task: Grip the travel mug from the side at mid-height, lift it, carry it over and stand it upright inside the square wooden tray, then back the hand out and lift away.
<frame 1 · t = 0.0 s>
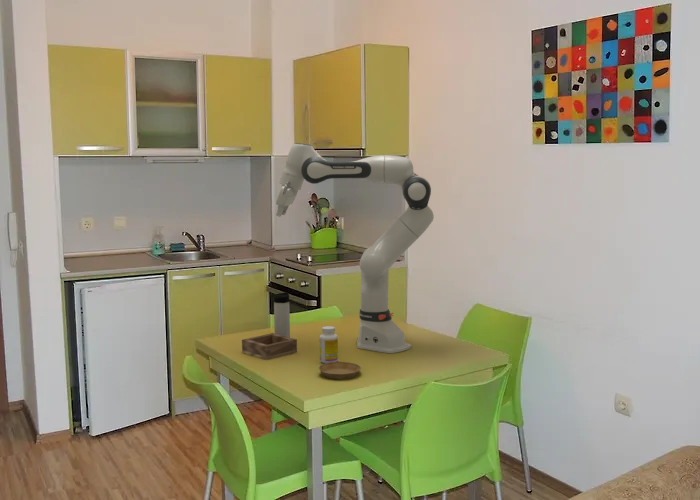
hand: (280, 215, 286), 52 cm above the table, tool tilted 20°, fingers open, 8 cm apart
travel mug: (282, 342, 295), on the table
supplement bottle: (328, 362, 265), on the table
plant saucer: (339, 375, 250), on the table
square wooden tray: (269, 352, 278), on the table
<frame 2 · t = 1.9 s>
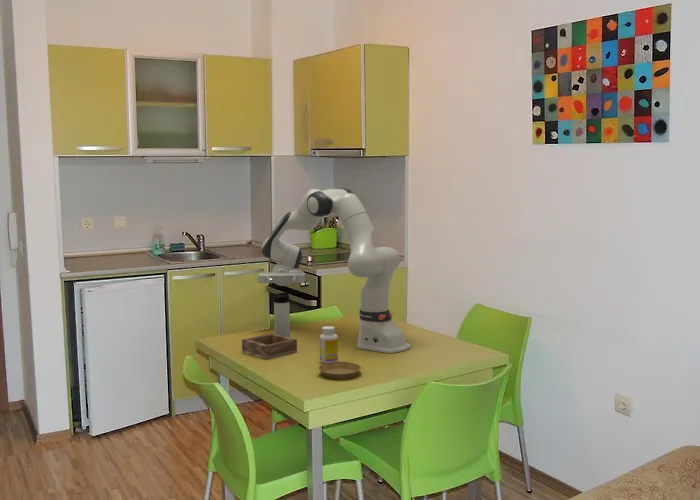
hand: (281, 280, 304), 23 cm above the table, tool horizontal, fingers open, 8 cm apart
nothing on the table moved.
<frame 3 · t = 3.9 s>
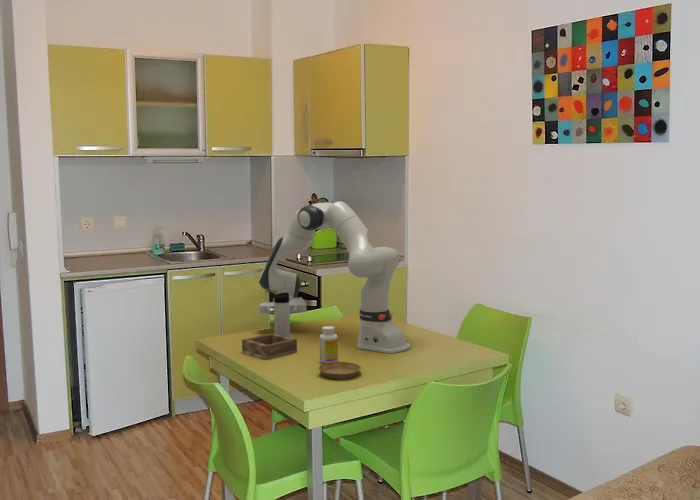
hand: (282, 311, 302), 11 cm above the table, tool horizontal, fingers open, 8 cm apart
nothing on the table moved.
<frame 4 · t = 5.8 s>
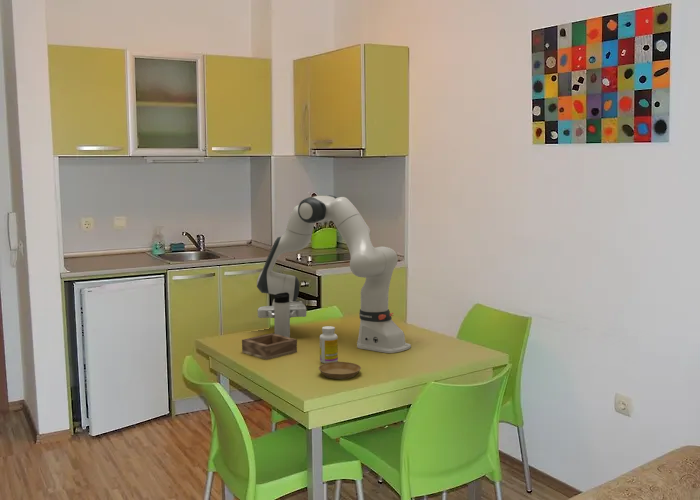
hand: (282, 315, 292), 11 cm above the table, tool horizontal, fingers closed on travel mug, 6 cm apart
travel mug: (282, 342, 295), on the table, touching gripper
everything else where it was.
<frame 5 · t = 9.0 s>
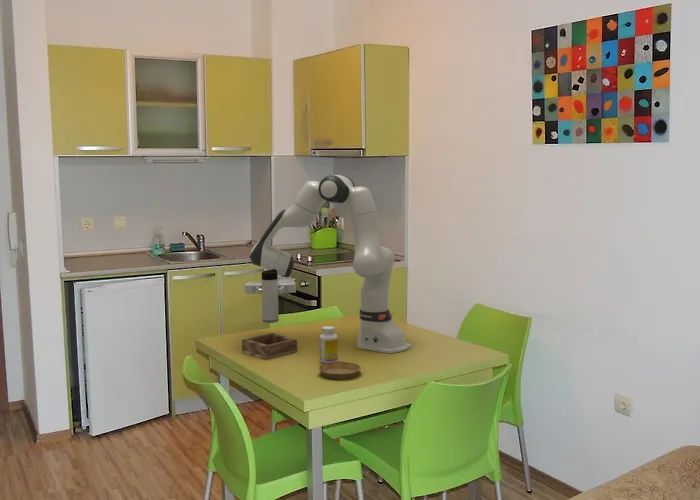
hand: (269, 291, 277), 24 cm above the table, tool horizontal, fingers closed on travel mug, 6 cm apart
travel mug: (270, 321, 279), point 12 cm above the table, touching gripper
everything else where it was.
when the fingers open (14 cm above the table, at t = 11.8 s): travel mug stays where it is, resting on square wooden tray.
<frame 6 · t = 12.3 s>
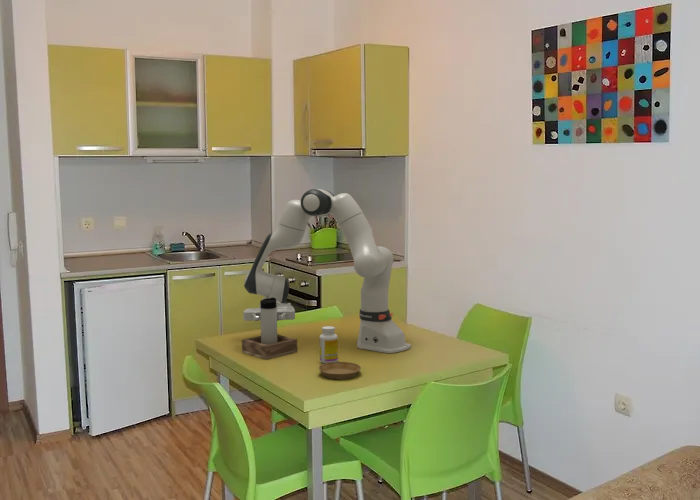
hand: (268, 318, 276), 14 cm above the table, tool horizontal, fingers open, 8 cm apart
travel mug: (269, 350, 278), point 1 cm above the table, touching square wooden tray
everything else where it was.
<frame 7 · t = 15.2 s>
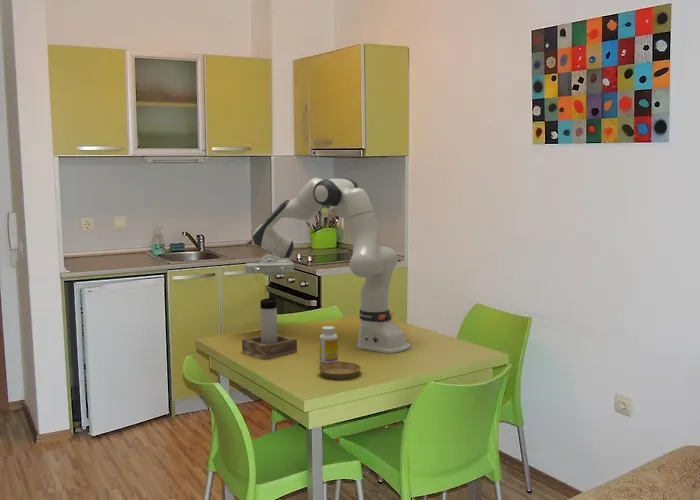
hand: (269, 270, 292), 29 cm above the table, tool horizontal, fingers open, 8 cm apart
nothing on the table moved.
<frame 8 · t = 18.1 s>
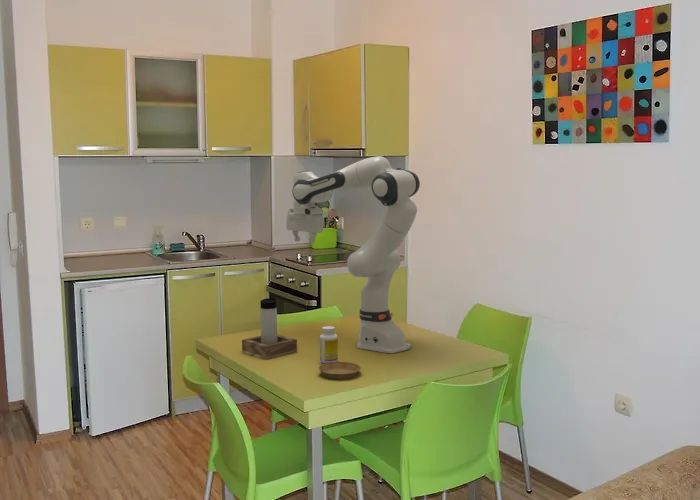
hand: (304, 242, 306), 39 cm above the table, tool pointing down, fingers open, 8 cm apart
nothing on the table moved.
at the end: travel mug inside the target area on the square wooden tray (0.1 cm from its centre), point 0.8 cm above the square wooden tray's base; travel mug tilted 0°; the gripper is holding nothing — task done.
